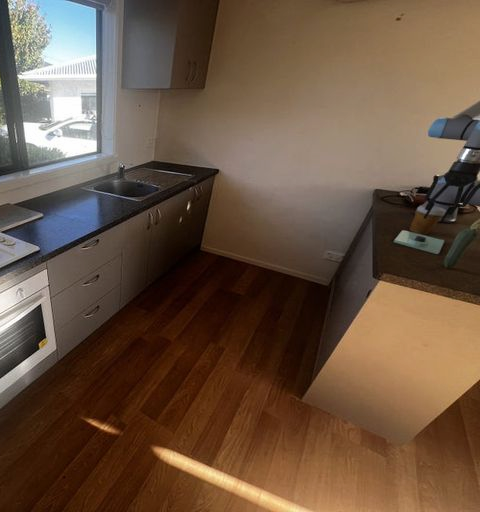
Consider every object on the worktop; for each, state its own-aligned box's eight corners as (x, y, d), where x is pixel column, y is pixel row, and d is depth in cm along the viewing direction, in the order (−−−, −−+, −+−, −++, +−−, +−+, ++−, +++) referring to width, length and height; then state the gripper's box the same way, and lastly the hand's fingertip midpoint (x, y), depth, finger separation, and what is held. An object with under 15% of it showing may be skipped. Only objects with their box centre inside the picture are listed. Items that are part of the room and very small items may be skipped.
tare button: (414, 238, 126) (417, 235, 125) (424, 241, 124) (426, 237, 123) (413, 240, 124) (416, 237, 123) (423, 243, 122) (425, 239, 121)
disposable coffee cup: (437, 236, 135) (453, 212, 129) (414, 234, 136) (429, 210, 130) (422, 228, 143) (436, 205, 137) (399, 226, 144) (413, 203, 139)
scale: (401, 232, 139) (404, 226, 137) (442, 242, 129) (447, 236, 128) (393, 242, 128) (396, 236, 127) (437, 254, 119) (442, 248, 118)
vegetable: (449, 271, 108) (486, 221, 98) (434, 265, 111) (468, 217, 101) (455, 269, 109) (491, 220, 99) (439, 263, 113) (473, 215, 103)
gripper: (436, 158, 111) (403, 215, 123) (506, 166, 100) (462, 228, 111) (438, 156, 115) (406, 211, 127) (506, 164, 104) (464, 224, 115)
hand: (432, 219), depth 119 cm, fingers open, 4 cm apart
